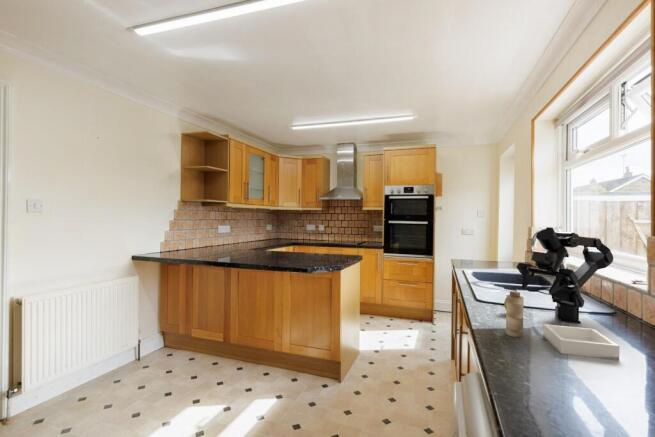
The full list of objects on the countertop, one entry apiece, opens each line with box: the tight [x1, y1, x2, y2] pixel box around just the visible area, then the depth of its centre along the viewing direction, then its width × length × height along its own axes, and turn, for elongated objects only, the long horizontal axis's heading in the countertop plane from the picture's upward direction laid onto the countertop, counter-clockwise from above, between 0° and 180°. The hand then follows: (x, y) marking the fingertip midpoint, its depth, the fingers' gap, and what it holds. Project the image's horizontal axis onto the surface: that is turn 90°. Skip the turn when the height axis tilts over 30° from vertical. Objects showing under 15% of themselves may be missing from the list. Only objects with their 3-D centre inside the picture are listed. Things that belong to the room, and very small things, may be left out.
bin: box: [543, 323, 620, 361], centre depth 97 cm, size 14×14×4 cm
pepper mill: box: [505, 290, 525, 338], centre depth 107 cm, size 5×5×14 cm
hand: (535, 290), depth 113 cm, fingers open, 9 cm apart
